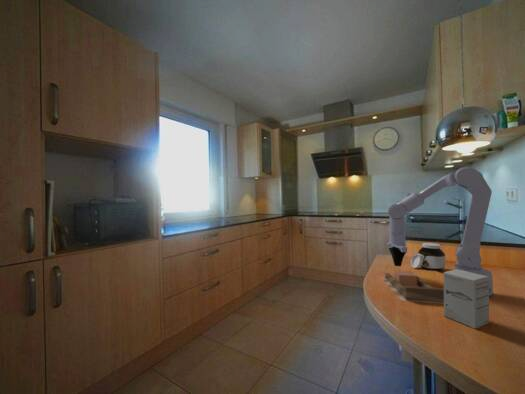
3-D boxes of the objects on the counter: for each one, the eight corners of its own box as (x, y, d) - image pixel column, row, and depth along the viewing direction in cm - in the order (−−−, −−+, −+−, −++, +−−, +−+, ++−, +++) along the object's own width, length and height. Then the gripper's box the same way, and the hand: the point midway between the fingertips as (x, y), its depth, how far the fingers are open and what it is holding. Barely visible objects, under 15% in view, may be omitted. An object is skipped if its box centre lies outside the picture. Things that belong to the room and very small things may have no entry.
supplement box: (442, 316, 65) (441, 271, 65) (458, 311, 68) (457, 268, 68) (475, 330, 58) (474, 280, 58) (490, 323, 61) (489, 275, 61)
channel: (380, 278, 95) (380, 267, 95) (418, 280, 92) (418, 269, 92) (401, 302, 74) (401, 288, 74) (451, 306, 71) (451, 291, 71)
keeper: (394, 280, 91) (394, 270, 91) (411, 281, 90) (411, 271, 90) (399, 285, 86) (399, 275, 86) (417, 286, 85) (416, 275, 85)
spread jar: (448, 271, 104) (448, 245, 104) (432, 274, 100) (432, 247, 100) (422, 264, 115) (421, 241, 115) (406, 266, 111) (406, 243, 111)
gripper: (381, 230, 103) (381, 260, 103) (392, 235, 89) (393, 270, 89) (398, 230, 102) (399, 261, 102) (413, 236, 88) (413, 271, 87)
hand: (397, 265), depth 95 cm, fingers closed
